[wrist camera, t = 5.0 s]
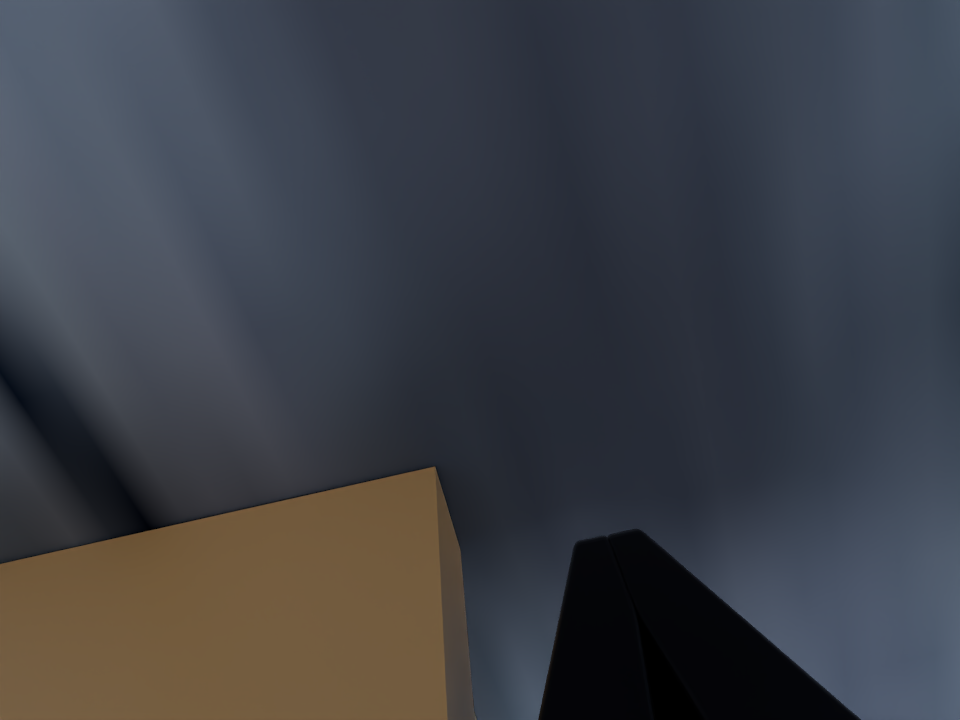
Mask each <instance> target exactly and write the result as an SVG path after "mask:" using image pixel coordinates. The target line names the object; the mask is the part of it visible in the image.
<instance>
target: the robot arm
mask: <svg viewBox="0 0 960 720" xmlns="http://www.w3.org/2000/svg"><path fill="white" fill-rule="evenodd" d="M538 720H861V719H860V718H859V717H857V716H856V715H855V714H854V713H853V712H852V711H850V710H849V709H848V708H847V707H846V706H845V705H843V704H842V703H841V702H840V701H839V700H838V699H836V698H835V697H834V696H833V695H832V694H831V693H830V692H828V691H827V690H826V689H825V688H824V687H823V686H821V685H820V684H819V683H818V682H817V681H816V680H814V679H813V678H812V677H811V676H810V675H809V674H808V673H806V672H805V671H804V670H803V669H802V668H801V667H799V666H798V665H797V664H796V663H795V662H794V661H792V660H791V659H790V658H789V657H788V656H787V655H786V654H784V653H783V652H782V651H781V650H780V649H779V648H777V647H776V646H775V645H774V644H773V643H772V642H770V641H769V640H768V639H767V638H766V637H765V636H764V635H762V634H761V633H760V632H759V631H758V630H757V629H755V628H754V627H753V626H752V625H751V624H750V623H748V622H747V621H746V620H745V619H744V618H743V617H742V616H740V615H739V614H738V613H737V612H736V611H735V610H733V609H732V608H731V607H730V606H729V605H728V604H726V603H725V602H724V601H723V600H722V599H721V598H719V597H718V596H717V595H716V594H715V593H714V592H713V591H711V590H710V589H709V588H708V587H707V586H706V585H704V584H703V583H702V582H701V581H700V580H699V579H697V578H696V577H695V576H694V575H693V574H692V573H691V572H689V571H688V570H687V569H686V568H685V567H684V566H682V565H681V564H680V563H679V562H678V561H677V560H675V559H674V558H673V557H672V556H671V555H670V554H669V553H667V552H666V551H665V550H664V549H663V548H662V547H660V546H659V545H658V544H657V543H656V542H655V541H653V540H652V539H651V538H650V537H649V536H648V535H647V534H645V533H644V532H643V531H641V530H639V529H632V530H627V531H622V532H618V533H613V534H610V535H609V536H608V537H606V536H599V537H594V538H590V539H585V540H580V541H578V542H576V543H575V545H574V548H573V552H572V557H571V562H570V567H569V572H568V577H567V582H566V587H565V592H564V596H563V601H562V606H561V611H560V616H559V621H558V626H557V631H556V636H555V640H554V645H553V650H552V655H551V660H550V665H549V670H548V675H547V680H546V684H545V689H544V694H543V699H542V704H541V709H540V714H539V719H538Z"/></svg>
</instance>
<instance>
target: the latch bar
mask: <svg viewBox="0 0 960 720" xmlns="http://www.w3.org/2000/svg"><path fill="white" fill-rule="evenodd" d="M0 720H475V716H474V704H473V692H472V680H471V668H470V656H469V645H468V633H467V621H466V609H465V597H464V585H463V573H462V561H461V550H460V547H459V543H458V540H457V537H456V533H455V530H454V527H453V524H452V520H451V517H450V514H449V510H448V507H447V504H446V501H445V497H444V494H443V491H442V487H441V484H440V481H439V477H438V474H437V471H436V468H435V467H431V468H426V469H422V470H417V471H413V472H408V473H404V474H399V475H395V476H390V477H386V478H381V479H377V480H373V481H368V482H364V483H359V484H355V485H350V486H346V487H341V488H337V489H332V490H328V491H324V492H319V493H315V494H310V495H306V496H301V497H297V498H292V499H288V500H283V501H279V502H275V503H270V504H266V505H261V506H257V507H252V508H248V509H243V510H239V511H234V512H230V513H225V514H221V515H217V516H212V517H208V518H203V519H199V520H194V521H190V522H185V523H181V524H176V525H172V526H168V527H163V528H159V529H154V530H150V531H145V532H141V533H136V534H132V535H127V536H123V537H119V538H114V539H110V540H105V541H101V542H96V543H92V544H87V545H83V546H78V547H74V548H69V549H65V550H61V551H56V552H52V553H47V554H43V555H38V556H34V557H29V558H25V559H20V560H16V561H12V562H7V563H3V564H0Z"/></svg>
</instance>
